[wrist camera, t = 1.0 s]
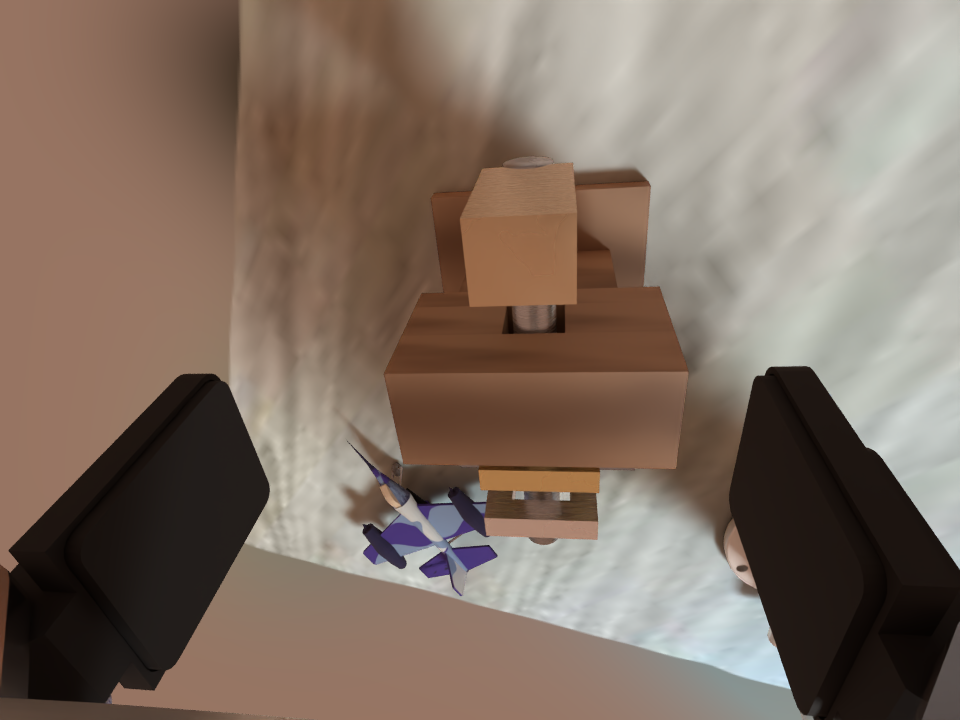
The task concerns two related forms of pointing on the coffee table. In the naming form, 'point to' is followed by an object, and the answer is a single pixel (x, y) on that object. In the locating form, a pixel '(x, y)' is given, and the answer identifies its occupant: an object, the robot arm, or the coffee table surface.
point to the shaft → (523, 248)
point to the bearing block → (545, 357)
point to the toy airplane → (428, 530)
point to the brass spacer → (539, 478)
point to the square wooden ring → (541, 516)
